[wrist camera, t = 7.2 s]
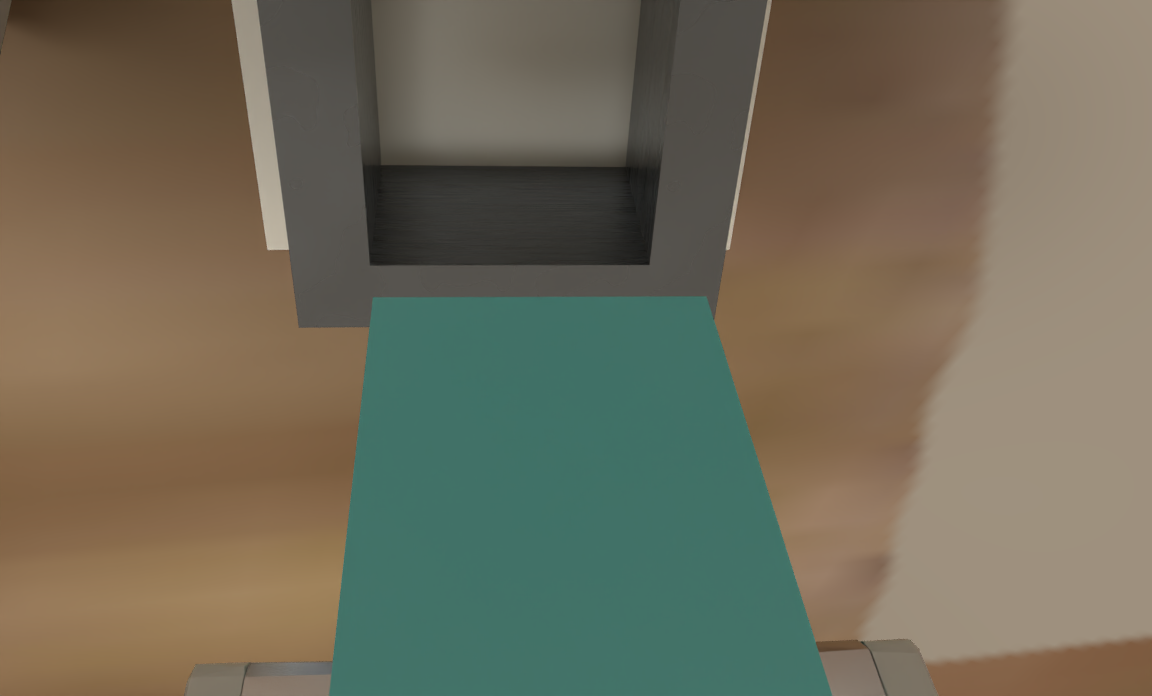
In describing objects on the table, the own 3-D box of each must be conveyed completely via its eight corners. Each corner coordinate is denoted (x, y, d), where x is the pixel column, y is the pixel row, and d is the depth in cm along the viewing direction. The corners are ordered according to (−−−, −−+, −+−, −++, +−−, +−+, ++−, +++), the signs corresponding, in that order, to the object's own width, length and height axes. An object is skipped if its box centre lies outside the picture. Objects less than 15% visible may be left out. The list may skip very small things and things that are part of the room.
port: (276, -178, 20) (242, -115, 17) (734, -160, 21) (784, -97, 17) (319, 222, 25) (299, 327, 22) (682, 223, 26) (713, 324, 23)
